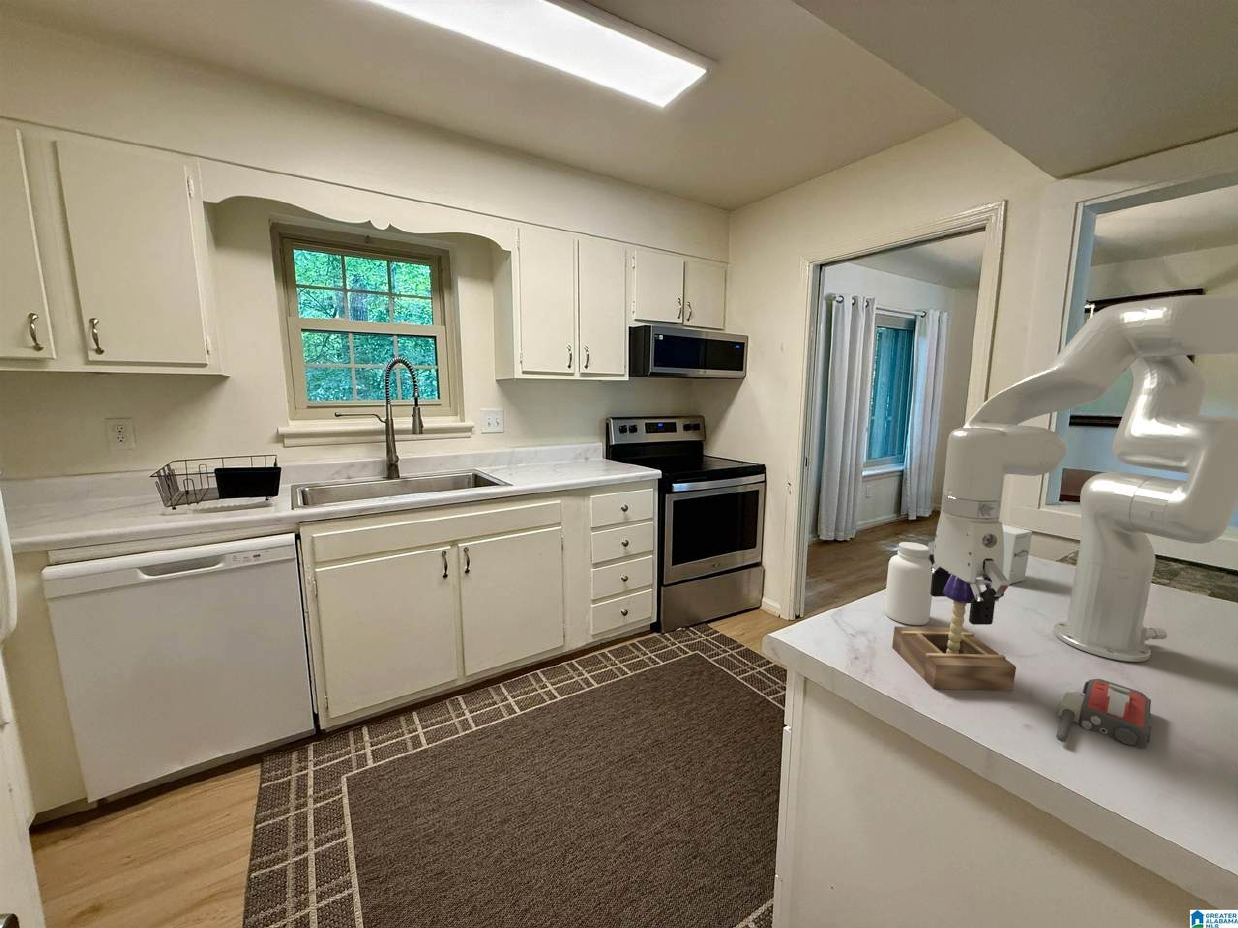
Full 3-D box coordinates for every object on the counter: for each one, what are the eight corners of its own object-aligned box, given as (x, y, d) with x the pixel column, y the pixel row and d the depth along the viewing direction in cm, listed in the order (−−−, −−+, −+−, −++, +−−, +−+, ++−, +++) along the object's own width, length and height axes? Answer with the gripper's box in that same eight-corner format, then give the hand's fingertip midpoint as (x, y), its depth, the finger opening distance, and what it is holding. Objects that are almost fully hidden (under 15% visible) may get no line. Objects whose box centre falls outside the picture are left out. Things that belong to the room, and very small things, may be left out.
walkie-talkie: (1068, 684, 78) (1047, 744, 64) (1073, 658, 77) (1053, 713, 64) (1149, 712, 71) (1145, 784, 58) (1155, 684, 70) (1152, 751, 57)
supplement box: (1008, 586, 115) (1015, 534, 113) (974, 574, 122) (981, 525, 120) (1025, 581, 118) (1033, 530, 116) (992, 570, 125) (998, 522, 123)
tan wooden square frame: (960, 648, 87) (963, 626, 86) (1012, 690, 75) (1016, 664, 74) (892, 647, 87) (894, 624, 86) (933, 688, 75) (936, 662, 75)
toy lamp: (973, 679, 78) (987, 580, 75) (940, 675, 79) (953, 577, 76) (959, 662, 82) (972, 568, 80) (928, 658, 83) (940, 566, 81)
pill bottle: (925, 612, 101) (934, 542, 98) (931, 630, 93) (941, 555, 91) (882, 605, 104) (889, 537, 102) (884, 621, 97) (892, 548, 94)
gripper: (1040, 522, 68) (1025, 636, 71) (958, 494, 85) (948, 586, 88) (985, 523, 68) (972, 636, 71) (914, 494, 85) (906, 586, 88)
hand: (959, 608), depth 80 cm, fingers open, 9 cm apart
